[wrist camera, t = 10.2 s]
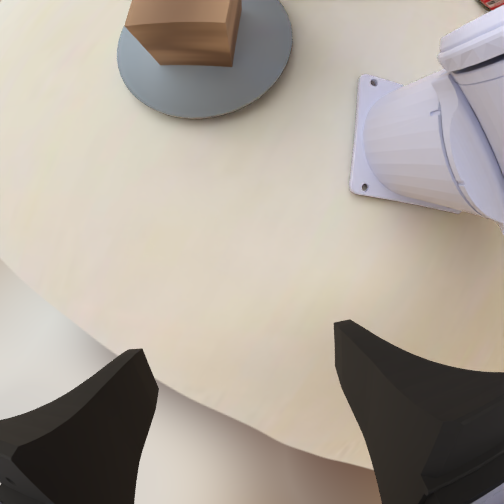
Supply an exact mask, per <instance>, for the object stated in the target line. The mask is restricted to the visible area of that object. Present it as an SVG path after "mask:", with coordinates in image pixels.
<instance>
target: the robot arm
mask: <svg viewBox="0 0 504 504" xmlns="http://www.w3.org/2000/svg"><path fill="white" fill-rule="evenodd" d="M440 51H441V52H440V53H439V54H438V55H437V59H438V61H439V62H440V64H441V65H442V66H443V68H444V69H442V70H439V71H437V72H435V73H432V74H430V75H428V76H425V77H423V78H421V79H418V80H416V81H414V82H412V83H409V84H407V85H405V86H404V85H401V84H398V83H395V82H392V81H389V80H386V79H382V78H379V77H375V76H372V75H368V74H363V75H361V76H360V77H359V79H358V93H357V109H356V123H355V135H354V146H353V156H352V165H351V174H350V182H349V188H350V191H351V192H352V193H354V194H358V195H364V196H370V197H376V198H382V199H388V200H393V201H398V202H404V203H409V204H414V205H419V206H424V207H429V208H434V209H438V210H443V211H447V212H452V213H456V214H459V213H461V212H462V211H464V212H467V213H471V214H474V215H478V216H481V217H484V218H488V219H491V220H493V221H495V222H496V223H497V224H498V225H499V227H500V229H501V231H502V234H503V235H504V5H502V6H500V7H498V8H496V9H494V10H492V11H490V12H488V13H486V14H484V15H482V16H480V17H478V18H476V19H474V20H472V21H470V22H468V23H467V24H465V25H463V26H461V27H459V28H457V29H456V30H454V31H452V32H450V33H449V34H447V35H445V36H444V37H442V38H441V39H440ZM371 81H374V82H375V85H376V86H372V84H371ZM363 184H366V185H367V189H366V191H363V190H362V185H363ZM334 339H335V367H336V371H337V374H338V377H339V381H340V384H341V387H342V390H343V392H344V394H345V396H346V398H347V401H348V403H349V405H350V407H351V409H352V411H353V413H354V416H355V418H356V420H357V422H358V424H359V426H360V429H361V431H362V433H363V436H364V438H365V441H366V444H367V447H368V451H369V454H370V457H371V461H372V464H373V468H374V472H375V475H376V479H377V483H378V487H379V492H380V496H381V500H382V504H504V373H502V372H481V371H473V370H466V369H460V368H455V367H451V366H447V365H443V364H439V363H436V362H433V361H430V360H427V359H424V358H421V357H419V356H416V355H413V354H411V353H409V352H407V351H404V350H402V349H400V348H398V347H396V346H394V345H392V344H390V343H388V342H387V341H385V340H383V339H381V338H380V337H378V336H376V335H375V334H373V333H371V332H370V331H368V330H366V329H365V328H363V327H362V326H360V325H358V324H357V323H355V322H353V321H352V320H345V321H340V322H335V323H334ZM158 390H159V388H158V386H157V383H156V381H155V379H154V376H153V374H152V372H151V369H150V367H149V364H148V362H147V359H146V357H145V354H144V352H143V349H129V350H127V351H125V352H124V353H122V354H121V355H119V356H118V357H117V358H115V359H114V360H113V361H111V362H110V363H109V364H107V365H106V366H105V367H103V368H102V369H101V370H100V371H98V372H97V373H96V374H94V375H93V376H92V377H90V378H89V379H87V380H86V381H85V382H83V383H82V384H80V385H79V386H78V387H76V388H75V389H73V390H71V391H70V392H68V393H67V394H65V395H63V396H62V397H60V398H58V399H56V400H54V401H52V402H50V403H48V404H46V405H44V406H42V407H39V408H37V409H35V410H33V411H30V412H27V413H24V414H21V415H18V416H15V417H12V418H8V419H3V420H0V483H1V485H0V504H134V498H135V488H136V480H137V473H138V467H139V461H140V457H141V453H142V450H143V447H144V444H145V441H146V438H147V435H148V431H149V428H150V425H151V422H152V419H153V416H154V413H155V409H156V403H157V397H158Z"/></svg>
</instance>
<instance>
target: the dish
mask: <svg viewBox="0 0 504 504" xmlns="http://www.w3.org/2000/svg"><path fill="white" fill-rule="evenodd" d="M291 47H292V28H291V23H290V20H289V17H288V15H287V13H286V11H285V9H284V7H283V6H282V5H281V3H280V2H279V1H278V0H242V11H241V17H240V23H239V28H238V34H237V40H236V46H235V53H234V59H233V65H232V67H221V66H201V65H159V64H158V62H157V61H156V60H155V59H154V58H153V57H152V56H151V55H150V54H149V52H148V51H147V50H146V49H145V48H144V47H143V46H142V45H141V44H140V43H139V41H138V40H137V39H136V38H135V37H134V36H133V35H132V34H131V33H130V32H129V31H128V30H127V28H126V27H125V25H124V27H123V30H122V32H121V35H120V38H119V42H118V48H117V62H118V68H119V71H120V74H121V77H122V79H123V81H124V83H125V85H126V86H127V88H128V89H129V90H130V92H131V93H132V94H133V95H134V96H135V97H136V98H137V99H138V100H140V101H141V102H143V103H144V104H145V105H147V106H149V107H150V108H152V109H154V110H156V111H158V112H161V113H163V114H166V115H169V116H174V117H178V118H188V119H204V118H211V117H217V116H221V115H225V114H228V113H231V112H234V111H236V110H239V109H241V108H243V107H245V106H247V105H249V104H251V103H252V102H254V101H255V100H257V99H258V98H260V97H261V96H262V95H263V94H264V93H266V92H267V91H268V90H269V89H270V88H271V87H272V86H273V85H274V83H275V82H276V81H277V79H278V78H279V77H280V75H281V74H282V72H283V70H284V68H285V66H286V64H287V61H288V58H289V55H290V52H291Z"/></svg>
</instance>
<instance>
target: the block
mask: <svg viewBox="0 0 504 504" xmlns="http://www.w3.org/2000/svg"><path fill="white" fill-rule="evenodd" d="M241 11H242V0H132V3H131V6H130V9H129V12H128V15H127V19H126V22H125V27H126V28H127V30H128V31H129V32H130V33H131V34H132V35H133V36H134V37H135V38H136V39H137V40H138V41H139V43H140V44H141V45H142V46H143V47H144V48H145V49H146V50H147V51H148V52H149V54H150V55H151V56H152V57H153V58H154V59H155V60H156V61H157V62H158V64H159V65H201V66H221V67H232V65H233V59H234V53H235V46H236V40H237V34H238V28H239V23H240V17H241Z"/></svg>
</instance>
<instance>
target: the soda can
mask: <svg viewBox="0 0 504 504" xmlns="http://www.w3.org/2000/svg"><path fill="white" fill-rule="evenodd" d="M479 1H480V2H481V3H482V4H484V5H485V6H486V7H488V8H489V9H491V10H494V9H496V8H498V7H500V6H502V5H504V0H479Z"/></svg>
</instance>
